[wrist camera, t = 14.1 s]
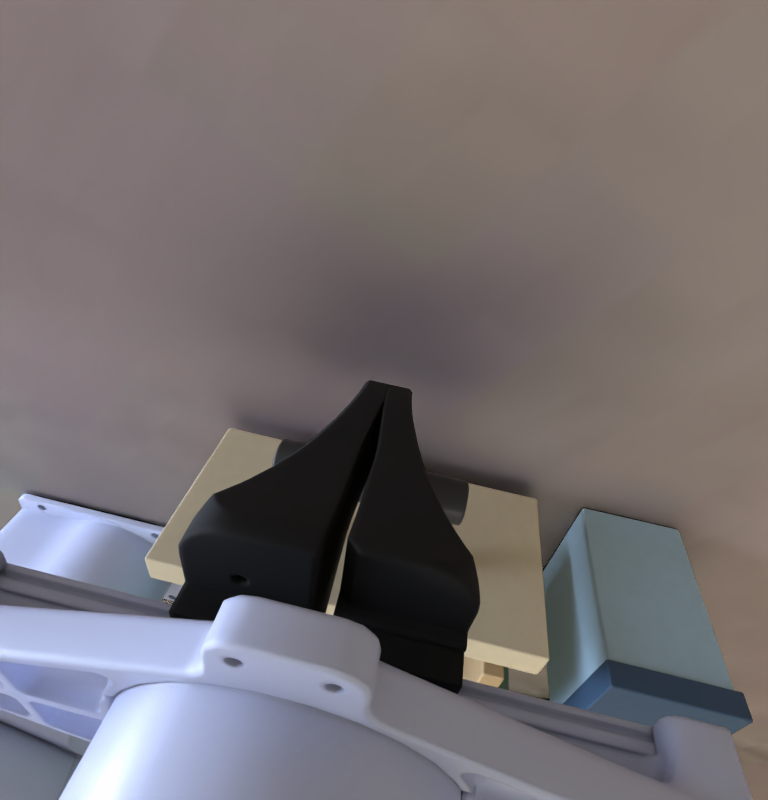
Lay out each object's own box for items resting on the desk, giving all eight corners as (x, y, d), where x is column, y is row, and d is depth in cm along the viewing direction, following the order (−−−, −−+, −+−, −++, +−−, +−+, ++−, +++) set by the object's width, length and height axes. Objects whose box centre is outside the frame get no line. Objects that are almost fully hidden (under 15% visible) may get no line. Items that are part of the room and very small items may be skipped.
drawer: (222, 347, 19) (117, 475, 13) (575, 426, 18) (605, 592, 13) (243, 589, 30) (190, 708, 25) (461, 643, 29) (453, 778, 24)
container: (535, 576, 25) (547, 745, 19) (580, 504, 21) (610, 686, 16) (623, 597, 25) (661, 774, 19) (684, 527, 21) (754, 722, 15)
